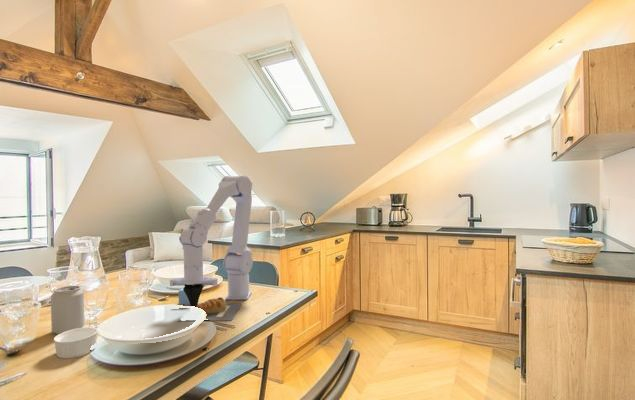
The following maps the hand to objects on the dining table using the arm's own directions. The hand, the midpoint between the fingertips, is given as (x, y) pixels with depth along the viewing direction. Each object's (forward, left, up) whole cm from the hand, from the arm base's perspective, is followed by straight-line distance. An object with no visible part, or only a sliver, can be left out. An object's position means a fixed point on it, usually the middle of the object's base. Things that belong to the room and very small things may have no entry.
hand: (194, 307), depth 113 cm
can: (+14, -30, -2) cm, 33 cm away
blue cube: (-10, -5, -2) cm, 11 cm away
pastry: (0, +6, -1) cm, 6 cm away
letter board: (0, +6, -1) cm, 6 cm away
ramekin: (+27, -19, -2) cm, 33 cm away
